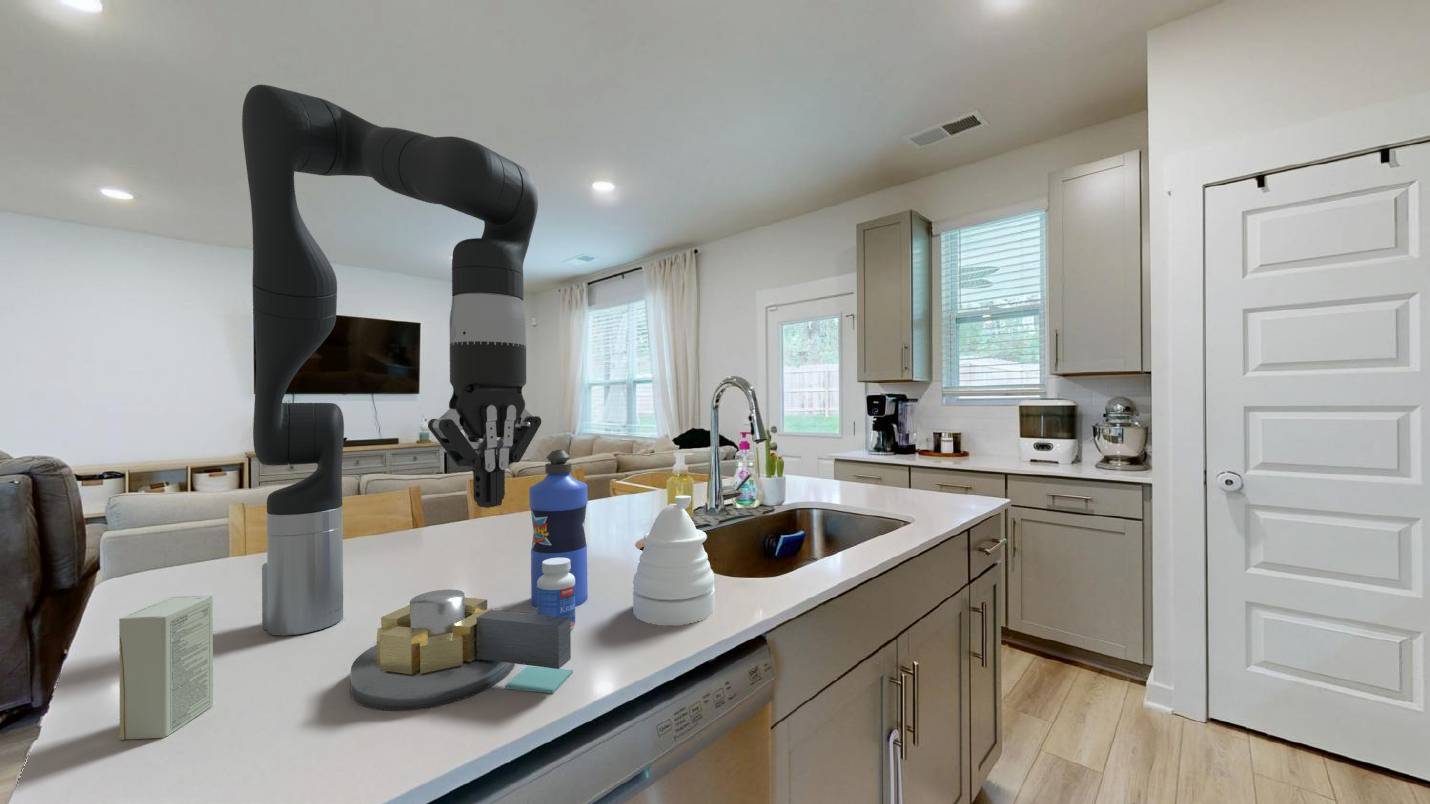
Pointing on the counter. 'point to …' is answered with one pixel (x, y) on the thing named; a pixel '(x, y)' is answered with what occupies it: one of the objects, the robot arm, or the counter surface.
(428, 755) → the counter surface
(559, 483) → the blue bottle
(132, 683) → the skincare box
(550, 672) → the pad
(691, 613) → the honey pot
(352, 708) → the counter surface
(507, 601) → the counter surface
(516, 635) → the clamp assembly
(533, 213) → the robot arm
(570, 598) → the pill bottle
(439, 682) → the housing
